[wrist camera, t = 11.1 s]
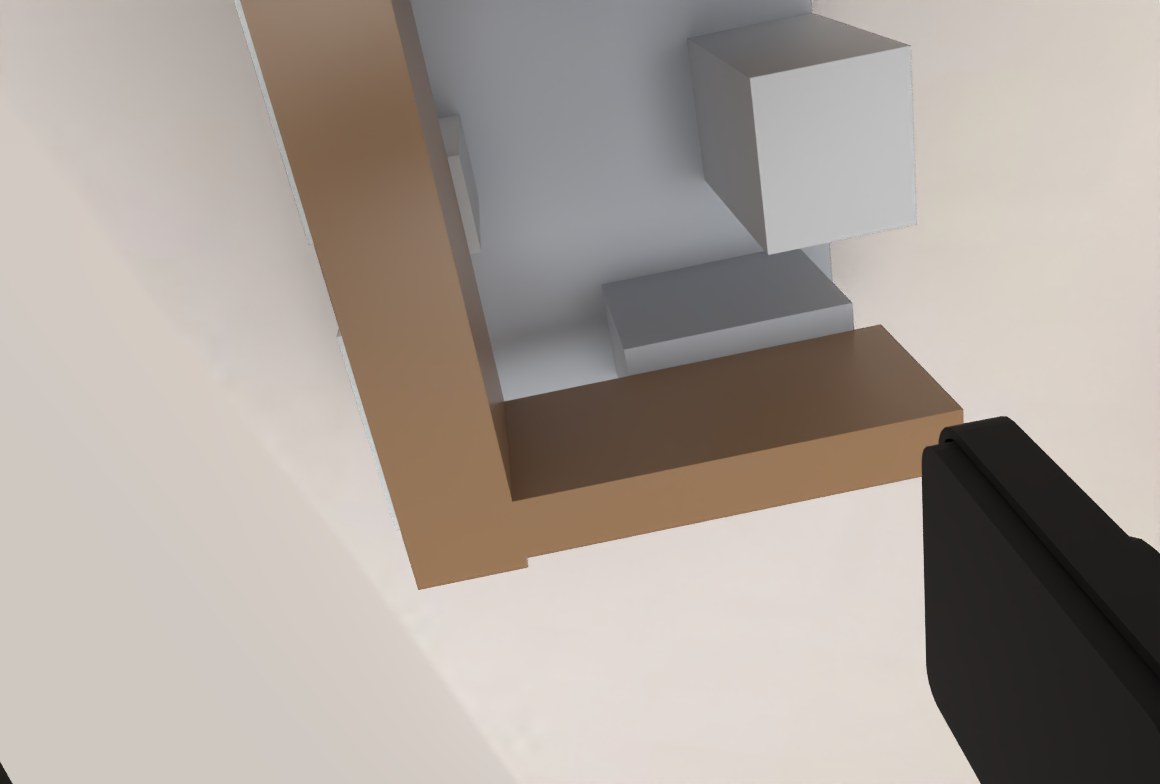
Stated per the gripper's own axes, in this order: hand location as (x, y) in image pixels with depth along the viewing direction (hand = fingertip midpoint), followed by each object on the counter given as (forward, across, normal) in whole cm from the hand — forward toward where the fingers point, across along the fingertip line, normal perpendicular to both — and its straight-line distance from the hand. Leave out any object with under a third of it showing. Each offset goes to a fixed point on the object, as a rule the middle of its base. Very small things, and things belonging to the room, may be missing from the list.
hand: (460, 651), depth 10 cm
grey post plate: (+22, -2, 0) cm, 23 cm away
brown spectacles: (+17, -3, 0) cm, 17 cm away
